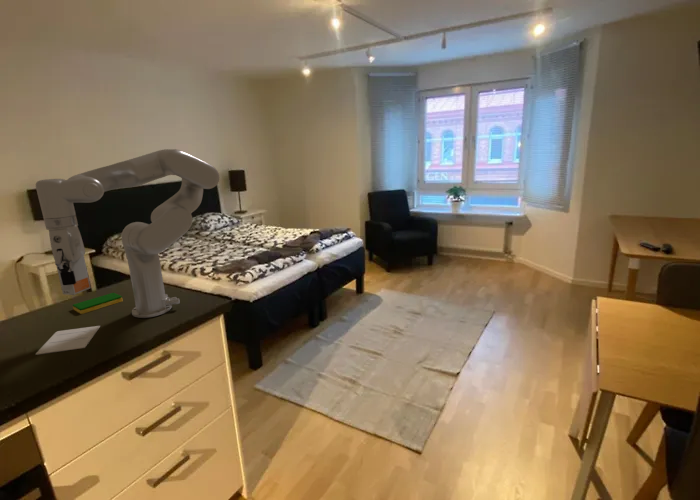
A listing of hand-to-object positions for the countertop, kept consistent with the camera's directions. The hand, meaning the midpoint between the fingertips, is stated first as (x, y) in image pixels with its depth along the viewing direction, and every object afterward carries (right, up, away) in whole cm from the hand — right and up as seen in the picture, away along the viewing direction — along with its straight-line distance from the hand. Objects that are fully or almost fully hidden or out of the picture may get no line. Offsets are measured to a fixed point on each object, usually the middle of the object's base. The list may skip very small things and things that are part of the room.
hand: (74, 279), depth 114 cm
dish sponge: (-9, -12, +25) cm, 29 cm away
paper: (-1, -18, 0) cm, 18 cm away
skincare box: (0, -4, +1) cm, 4 cm away
